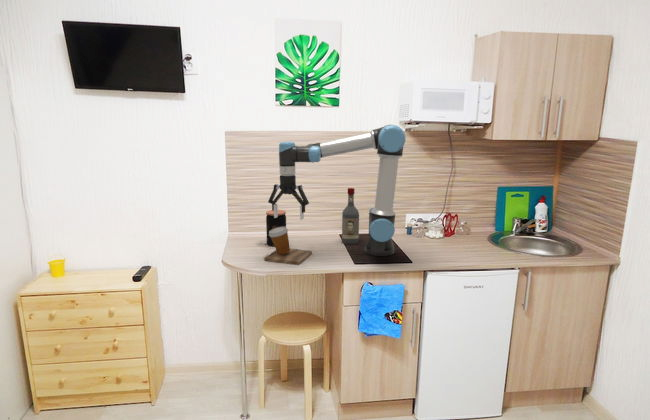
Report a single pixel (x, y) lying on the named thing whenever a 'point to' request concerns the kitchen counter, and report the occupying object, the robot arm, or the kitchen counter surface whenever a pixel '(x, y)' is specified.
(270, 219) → the coffee jar
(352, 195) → the liquor
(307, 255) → the walnut board
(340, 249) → the kitchen counter surface
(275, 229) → the disposable coffee cup
